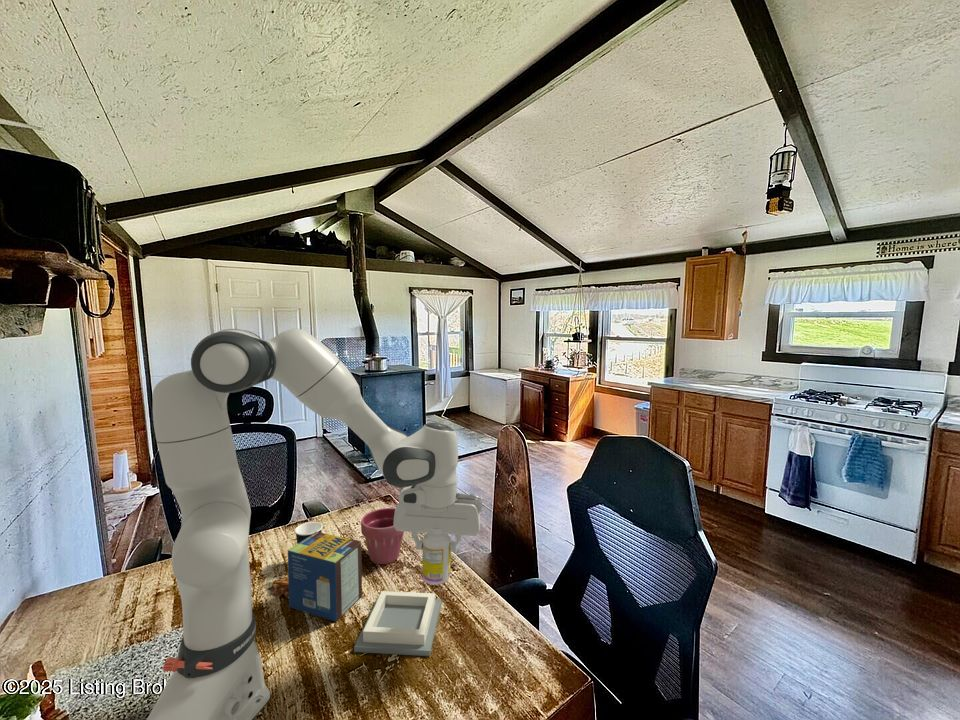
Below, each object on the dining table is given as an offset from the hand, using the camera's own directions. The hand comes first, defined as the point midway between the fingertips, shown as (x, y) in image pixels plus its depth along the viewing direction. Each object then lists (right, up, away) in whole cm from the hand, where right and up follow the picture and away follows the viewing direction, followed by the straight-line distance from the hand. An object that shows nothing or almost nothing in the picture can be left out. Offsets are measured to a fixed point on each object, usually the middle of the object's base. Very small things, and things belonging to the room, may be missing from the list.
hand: (436, 549), depth 93 cm
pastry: (-44, -19, +16) cm, 51 cm away
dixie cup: (-42, -18, +29) cm, 54 cm away
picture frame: (-9, -20, +3) cm, 22 cm away
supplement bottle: (0, -7, 0) cm, 7 cm away
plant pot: (-20, -18, +32) cm, 42 cm away
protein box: (-30, -19, +11) cm, 38 cm away
